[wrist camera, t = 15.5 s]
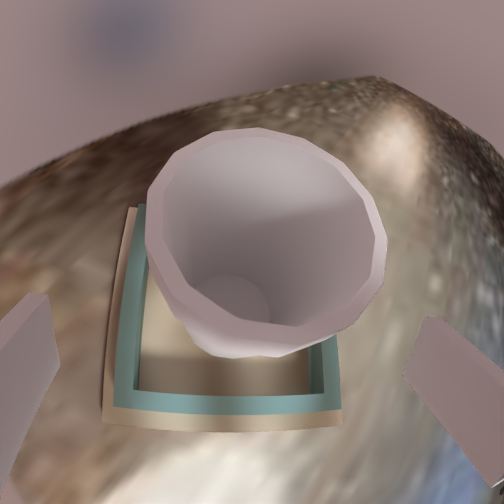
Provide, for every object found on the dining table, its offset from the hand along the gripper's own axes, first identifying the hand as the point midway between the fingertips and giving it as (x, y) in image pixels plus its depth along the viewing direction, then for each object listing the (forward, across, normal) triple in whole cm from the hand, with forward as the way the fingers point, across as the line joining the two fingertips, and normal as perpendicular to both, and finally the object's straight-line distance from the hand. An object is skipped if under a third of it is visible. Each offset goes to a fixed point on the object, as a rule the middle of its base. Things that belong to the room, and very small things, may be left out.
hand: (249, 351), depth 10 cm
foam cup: (+12, +1, -5) cm, 13 cm away
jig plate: (+13, +1, -6) cm, 14 cm away
